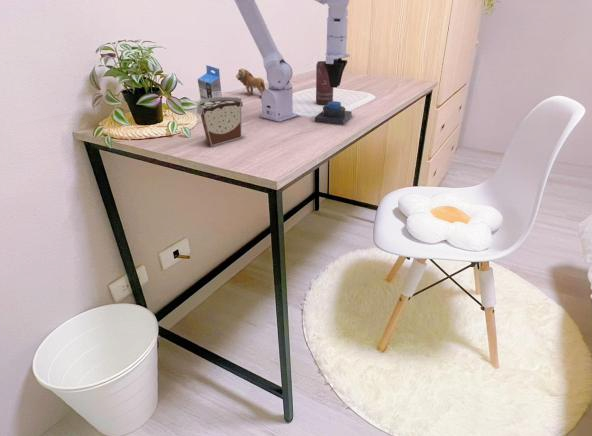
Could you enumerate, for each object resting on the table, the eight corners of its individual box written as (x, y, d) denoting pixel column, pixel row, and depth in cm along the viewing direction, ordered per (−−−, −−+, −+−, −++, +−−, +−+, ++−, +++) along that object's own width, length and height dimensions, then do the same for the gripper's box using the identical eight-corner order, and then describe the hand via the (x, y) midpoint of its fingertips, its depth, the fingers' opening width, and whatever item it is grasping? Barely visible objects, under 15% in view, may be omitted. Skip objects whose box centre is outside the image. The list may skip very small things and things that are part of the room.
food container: (231, 131, 102) (227, 94, 97) (246, 136, 99) (242, 98, 94) (191, 141, 94) (185, 101, 89) (206, 147, 90) (200, 106, 85)
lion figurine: (235, 94, 141) (233, 68, 136) (244, 91, 145) (242, 67, 140) (266, 99, 135) (265, 73, 131) (275, 96, 139) (274, 71, 135)
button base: (343, 125, 111) (343, 113, 109) (314, 122, 113) (314, 110, 111) (351, 116, 120) (352, 105, 118) (325, 113, 122) (325, 102, 120)
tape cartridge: (200, 104, 126) (194, 65, 119) (211, 102, 128) (206, 64, 122) (213, 110, 120) (208, 69, 114) (224, 108, 123) (219, 68, 116)
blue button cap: (338, 111, 113) (338, 104, 112) (326, 109, 114) (326, 103, 113) (341, 108, 116) (342, 102, 115) (329, 106, 117) (329, 100, 116)
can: (333, 106, 131) (334, 63, 123) (315, 105, 131) (315, 62, 123) (333, 101, 136) (335, 61, 129) (316, 101, 136) (317, 60, 129)
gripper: (344, 39, 98) (341, 92, 105) (356, 35, 110) (353, 83, 117) (318, 37, 99) (318, 90, 106) (333, 34, 111) (331, 81, 118)
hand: (334, 86), depth 111 cm, fingers closed
